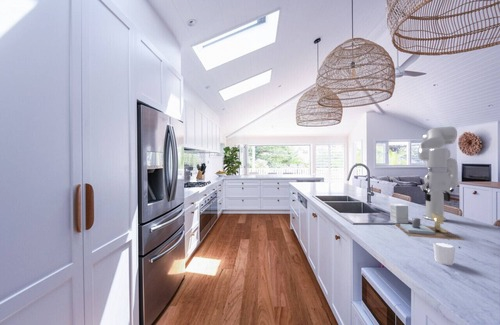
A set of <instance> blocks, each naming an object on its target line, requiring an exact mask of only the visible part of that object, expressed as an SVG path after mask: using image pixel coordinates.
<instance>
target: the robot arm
mask: <svg viewBox="0 0 500 325" xmlns="http://www.w3.org/2000/svg"><path fill="white" fill-rule="evenodd" d="M457 137H458V131H457V129H456V127H454V126H440V127H439V126H437V127H433V128H430V129H428V131H427V132H426V133H424V134H423V135H422V137H421V141H422V142H421V143H420V144H419V146H418V153H417V155H418V158H419V160H420V161H426V171H428V172H427V174H425V175H424V178H423V180H424V184H421V185H420V186H419V187H420V189H421V191H422V192H423V194H424V198H425V214H424V215H422V218H424V219H426V220H430V221H433V220H432V213H437V214H439V215H441V216H443V222H445V221H447V220H448V219H447V218H446V217H445V216H444V215H445V214H444V213H445V212H444V209H445V208H444V206H445V205H444V204H445V202H444V201H446V202H450V201H451V195H452V193H454V190H455V188H457V187H458V185H459V171H458V170H459V169H458V161H457V160H456V159H455V158H451V150H450V149H449V148H448V147H443V146H444V145H445V146H446V145H453V144H454V143H455V142H456V140H457Z"/></svg>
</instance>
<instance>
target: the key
mask: <svg viewBox="0 0 500 325" xmlns="http://www.w3.org/2000/svg"><path fill="white" fill-rule="evenodd" d="M431 221H434V227H435V231H437V232H440V231H441V232H445V233H446V229H445V228H443V227H441V225H444V221H443V216H441V215H439V214H437V213H432V220H431ZM444 229H445V230H444Z"/></svg>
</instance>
